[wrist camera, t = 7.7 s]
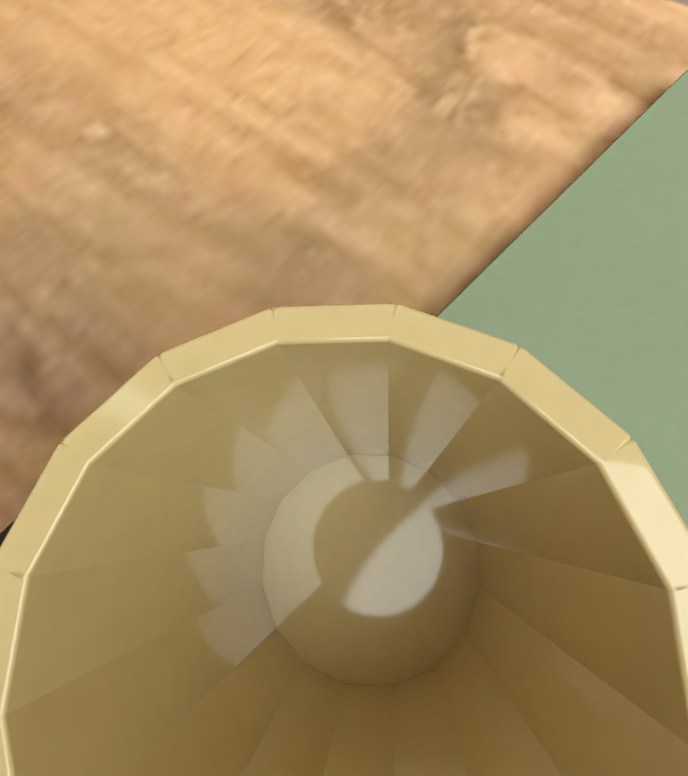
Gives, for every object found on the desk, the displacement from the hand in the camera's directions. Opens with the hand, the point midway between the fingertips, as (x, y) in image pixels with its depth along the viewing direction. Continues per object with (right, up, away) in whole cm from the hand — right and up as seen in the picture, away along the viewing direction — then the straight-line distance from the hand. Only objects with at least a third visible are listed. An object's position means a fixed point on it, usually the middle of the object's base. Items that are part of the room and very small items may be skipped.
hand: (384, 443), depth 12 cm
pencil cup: (0, -4, +3) cm, 5 cm away
